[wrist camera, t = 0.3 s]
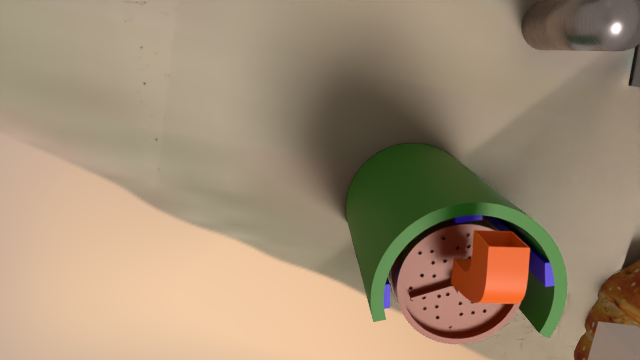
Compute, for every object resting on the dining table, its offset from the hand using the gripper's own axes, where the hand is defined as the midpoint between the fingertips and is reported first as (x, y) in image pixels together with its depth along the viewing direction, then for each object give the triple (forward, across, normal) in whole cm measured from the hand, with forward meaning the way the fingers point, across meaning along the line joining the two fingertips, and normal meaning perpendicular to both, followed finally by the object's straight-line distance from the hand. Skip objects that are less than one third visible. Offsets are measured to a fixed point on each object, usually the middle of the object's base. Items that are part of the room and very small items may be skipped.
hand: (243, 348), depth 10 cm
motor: (+32, +10, -5) cm, 34 cm away
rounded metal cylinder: (+32, +18, +9) cm, 38 cm away
